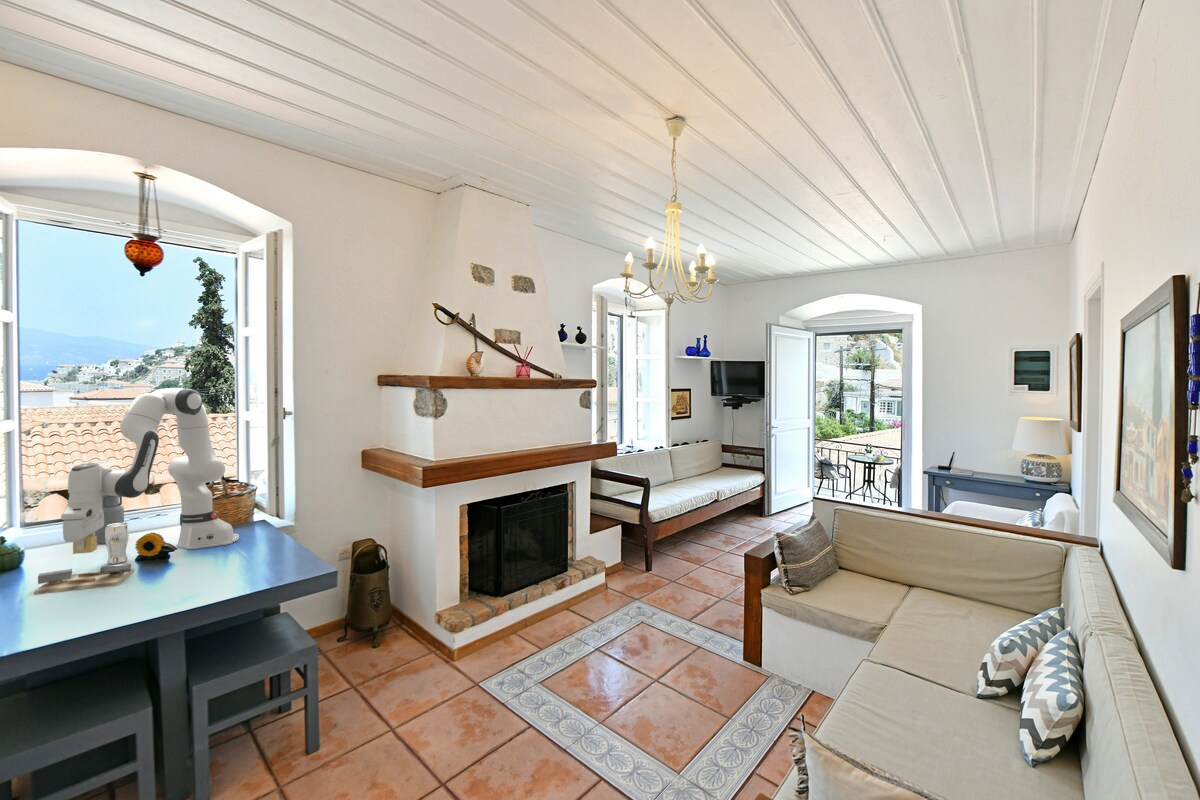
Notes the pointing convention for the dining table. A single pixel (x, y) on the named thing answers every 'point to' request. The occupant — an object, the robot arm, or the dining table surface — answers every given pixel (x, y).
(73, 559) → the dining table surface
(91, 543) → the yellow block
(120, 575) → the board
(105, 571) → the shafts
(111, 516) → the water bottle
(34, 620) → the dining table surface
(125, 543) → the beer glass
